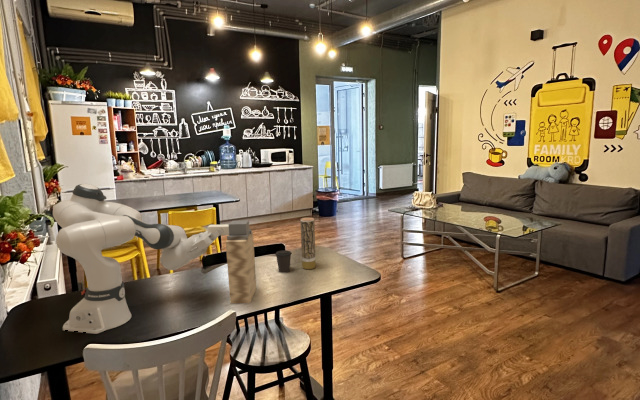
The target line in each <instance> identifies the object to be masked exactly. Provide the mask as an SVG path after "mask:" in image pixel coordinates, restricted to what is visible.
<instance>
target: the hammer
mask: <svg viewBox="0 0 640 400" xmlns="http://www.w3.org/2000/svg"><path fill="white" fill-rule="evenodd" d="M206 228H207V230H208V234H209V233H212V234H213V233H215V232H216V231H218V230H220V229H223V231H224V232H223V233H222V234H220V235H219V236H236V235H248V236H249V235H250V230H251V229H250V220H232V221H230V222H229V223H228V224H227V223H226V224H225V223H224V224H209V225H208V226H207V227H206Z"/></svg>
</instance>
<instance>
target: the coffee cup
mask: <svg viewBox="0 0 640 400" xmlns="http://www.w3.org/2000/svg"><path fill="white" fill-rule="evenodd" d="M275 256H276V261H277V263H276V264H277V267H278V272H279V273H282V274H284V273H289V272H290V271H291V270H290V269H291V257H292V252H291V251H290V250H286V249H285V250H278V251H276V252H275Z"/></svg>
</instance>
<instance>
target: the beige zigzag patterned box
mask: <svg viewBox="0 0 640 400" xmlns="http://www.w3.org/2000/svg"><path fill="white" fill-rule="evenodd" d="M225 249H226V263H227V275H228V278H227V279H228V290H229V302H230V304H251V302H252V299H253V297H254V296H255V292H256V291H257V280H256V262H255V246H254V232H253V230H252V229H250V235H249V236H248V235H236V236H229V235H226V241H225Z"/></svg>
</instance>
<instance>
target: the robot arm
mask: <svg viewBox="0 0 640 400" xmlns="http://www.w3.org/2000/svg"><path fill="white" fill-rule="evenodd" d="M71 193H72V194H71V195H72V196H71V197H70V200H69V199H67V200H61V201H59V202H57V203H56V204H55V205H54V207H53V209H52V217H53V218H54V220H55V222H56V223H57V225H59V226H60V227H61V228H60V229H59V231H58V232H57V234H56V238H55V240H56V241H55V242H56V243H55V244H56V247H57V248H58V250H59V251H60V252H61V253H62V254H64V255H65V256H68V257H70V258H73V259H74V260H76V261H77V262H78V263H79V264H80V265H81V267H82V268H83V270H84V275H85V277H86V279H85V280H86V282H87V286H86V288H84V289H83V290H82V291H81V292H80V293H81V296H82V295H84V294H85V295H84V297H83V298H82V299H80V301H79V302H77V303H76V304H75V305H74V306H73V307H72V308H71V310H70V311H69V317H68V320H67V321H65V323H64V324H63V325H62V331H65V330H68V331H67V332H74V331H78V332H77V333H83V332H86V333H85V334H94V335H95V334H100V333H103V332H104V331H108V330H111V329H114V328H117V327H120V326H122V325H124V324H126V323H127V322H128V321H130V320H131V318H132V317H133V316H132V313H131V311H130V309H129V307H128V304H127V300H126V290H125V284H124V280H123V278H122V269H121V264H120V262H119V261H118V260H117V259H115V258H113V257H111V256H109V257H108V256H104V255H103V254H102V250H105V249H106V250H107V249H109V248H113V247H117V246H120V245H121V246H122V245H123V244H125V243H127V242H130V241H132V240H133V239H134V237H137V238H140V239H141V240H143V241H144V243H146V245H148V246H149V247H150V249H153V250H161V255H160V257H159V262H160V264H161V265H162V267H163V268H165V269H167V270H168V271H175V270H178V269H180V268H183V267H184V266H186V265H188V264H189V263H190V262H191V261H192V260H196V259H197V258H199V257H200V256H202V255H204V254H205V253H207V250H208V248H209V246H210V245H212V244H213V243H214V242H215V241H216V239H218V237H219V236H221V235H220V234H222V233H223V232H224V231H223V229H220V230H218V231H216V232H215V233H213V234H212V233H209V234H208V229H207V230H206V231H203V232H199V233H197V234H192V235H191V236H190V237H188V235H187V233H186V230H185V229H184V228H183V226H179V225H174V224H161V223H151V224H149V223H147V222H145V221H143V220H142V218H143V217H142V214H141V212H140V211H139V210H137V209H135V208H133V207H130V206H128V205H126V204H123V203H118V202H114V201H105V200H107V196H105V195H104V193H103V191H102V190H101V189H100V188H99V187H97V186H95V185H93V184H90V183H81V184H77V185H76V186H75V187H74V189H73V190H72V191H71Z"/></svg>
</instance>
